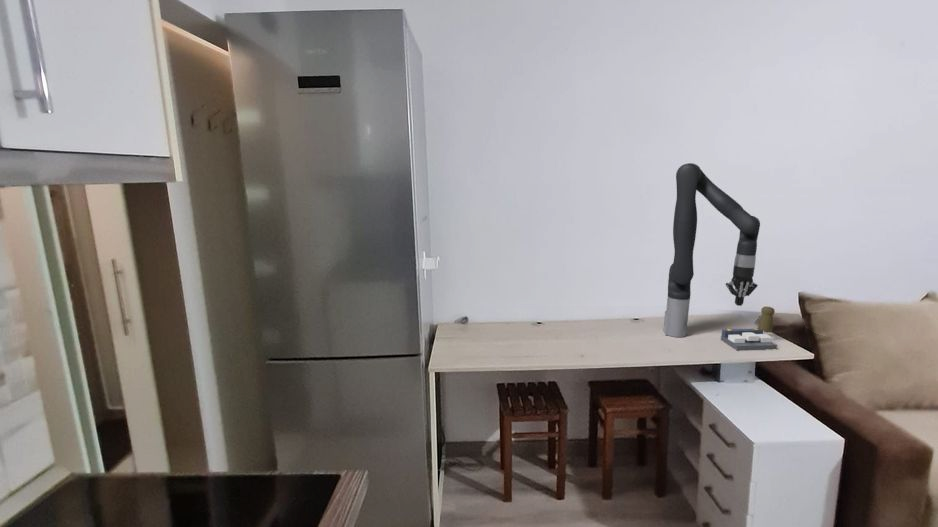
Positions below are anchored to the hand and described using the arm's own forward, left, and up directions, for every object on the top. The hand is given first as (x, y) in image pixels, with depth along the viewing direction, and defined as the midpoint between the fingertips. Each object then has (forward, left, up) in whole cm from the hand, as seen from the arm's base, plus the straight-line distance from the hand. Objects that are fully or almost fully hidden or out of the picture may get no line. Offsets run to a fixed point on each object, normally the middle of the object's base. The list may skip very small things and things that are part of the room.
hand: (738, 305), depth 209 cm
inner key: (0, -2, -15) cm, 15 cm away
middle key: (+6, 0, -15) cm, 16 cm away
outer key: (+12, +2, -15) cm, 19 cm away
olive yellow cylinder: (+20, +22, -18) cm, 35 cm away
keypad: (+6, +1, -17) cm, 18 cm away
